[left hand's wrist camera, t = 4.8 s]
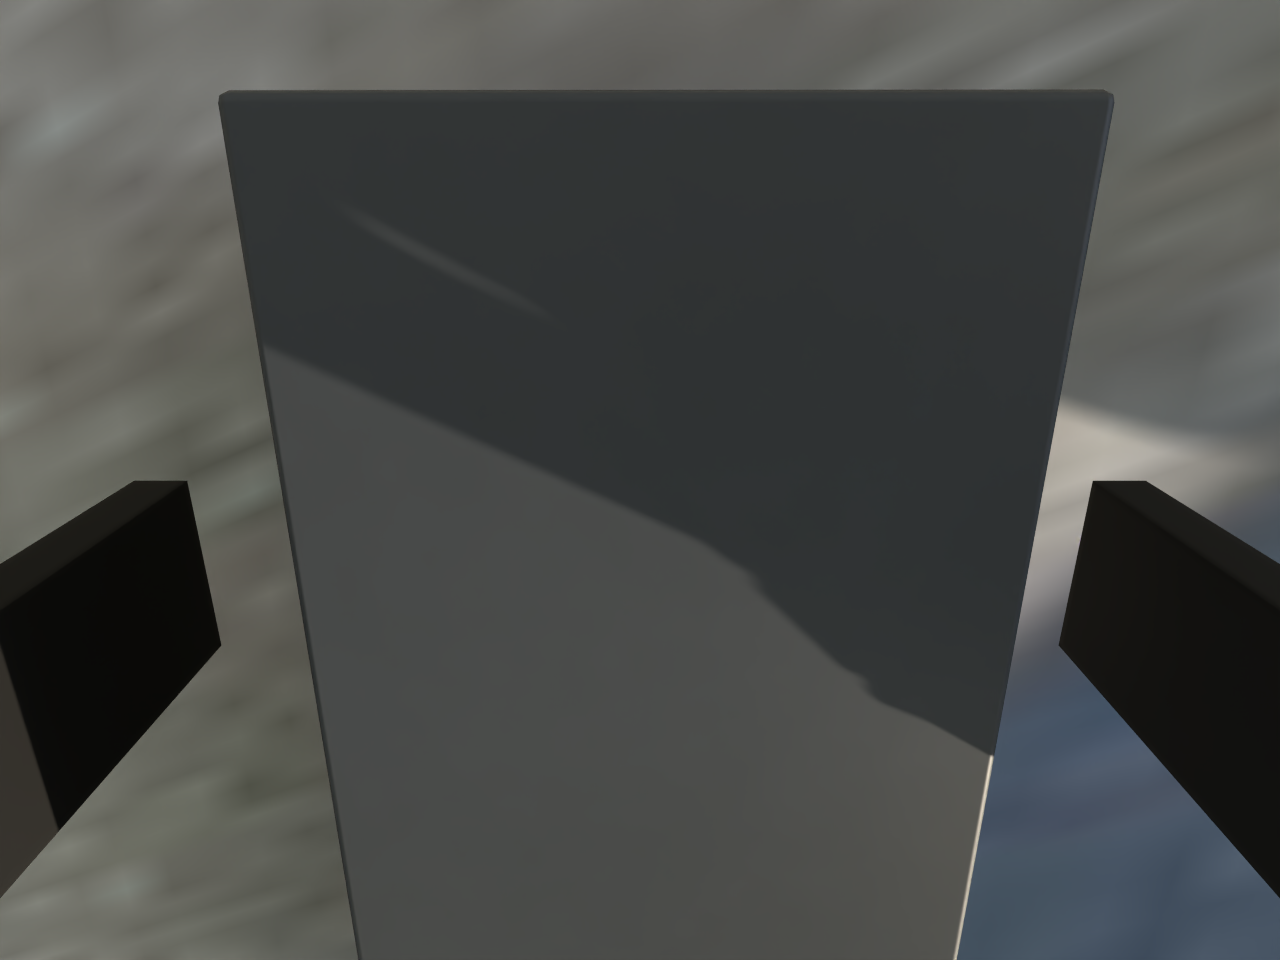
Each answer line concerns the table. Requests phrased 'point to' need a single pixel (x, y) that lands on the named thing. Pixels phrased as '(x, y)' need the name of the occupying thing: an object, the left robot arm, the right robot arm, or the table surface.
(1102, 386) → the table surface
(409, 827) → the beam
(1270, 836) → the left robot arm
